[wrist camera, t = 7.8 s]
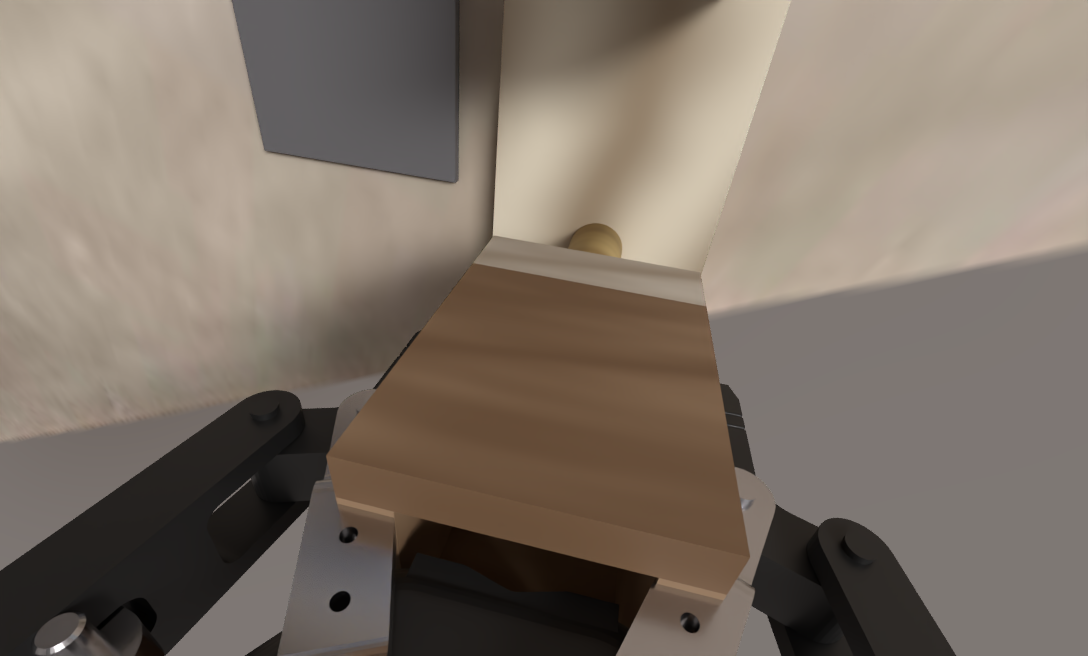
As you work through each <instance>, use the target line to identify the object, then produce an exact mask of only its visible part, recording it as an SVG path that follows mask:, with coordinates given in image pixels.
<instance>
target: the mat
mask: <svg viewBox="0 0 1088 656" xmlns="http://www.w3.org/2000/svg"><path fill="white" fill-rule="evenodd" d="M232 3H233V8H234V12H235V17H236V21H237V26H238V31H239V35H240V40H241V44H242V49H243V53H244V58H245V63H246V67H247V72H248V76H249V81H250V86H251V90H252V95H253V99H254V104H255V109H256V113H257V118H258V122H259V127H260V132H261V136H262V141H263V145H264V150H266V151H272V152H277V153H283V154H289V155H295V156H301V157H307V158H313V159H319V160H325V161H331V162H336V163H342V164H348V165H354V166H360V167H366V168H372V169H378V170H384V171H390V172H395V173H401V174H407V175H413V176H419V177H425V178H431V179H437V180H443V181H449V182H454V183H455V182H457V181H458V143H459V0H232Z"/></svg>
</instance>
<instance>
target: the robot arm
mask: <svg viewBox="0 0 1088 656" xmlns="http://www.w3.org/2000/svg"><path fill="white" fill-rule="evenodd" d="M420 332H421V330H420V331H419V332H417V333H416V334H415V335H414V336H413V338H412V339H411V340H410V341H409V343H408V344H407V347H405V348H404V349H403V351H402V352H401V353H400V356H398V357H397V358H396V360H395V361H394V362H393V364H392V365H391V366H390V367H389V369H388V370H387V371H386V373H385V374H384V375H383V376H382V378H381V379H380V380H379V382H378V383H377V384H376V386H375V387H374V388H373V389H370V390H364V391H361V392H357V393H355V394H353V395H351V396H349V397H348V398H347V399H345V400H344V401H343V402H342V403H341V405H340V407H337V408H317V409H302V408H301V403H300V400H299V399H298V397H297V396H295V395H294V394H292V393H290V392H287V391H279V390H274V391H266V392H261V393H258V394H255V395H252V396H250V397H248V398H246V399H244V400H243V401H241V402H240V403H238V404H237V405H236V406H234V407H233V408H231V409H230V410H228V411H227V412H226V413H225V414H223V415H221V416H220V417H219V418H217V419H216V420H214V421H213V422H211V423H210V424H209V425H207V426H206V427H204V428H203V429H201V430H200V431H199V432H197V433H196V434H194V435H193V436H191V437H190V438H189V439H187V440H186V441H184V442H183V443H181V444H180V445H179V446H177V447H176V448H174V449H173V450H172V451H170V452H169V453H167V454H166V455H164V456H163V457H162V458H160V459H159V460H157V461H156V462H155V463H153V464H152V465H150V466H149V467H147V468H146V469H144V470H143V471H142V472H140V473H139V474H137V475H136V476H135V477H133V478H132V479H130V480H129V481H128V482H126V483H125V484H123V485H122V486H120V487H119V488H117V489H116V490H115V491H113V492H112V493H110V494H109V495H108V496H106V497H105V498H103V499H102V500H100V501H99V502H98V503H96V504H95V505H93V506H92V507H90V508H89V509H88V510H86V511H85V512H83V513H82V514H80V515H79V516H78V517H76V518H75V519H73V520H72V521H71V522H69V523H68V524H66V525H65V526H63V527H62V528H61V529H59V530H58V531H56V532H55V533H54V534H52V535H51V536H49V537H48V538H46V539H45V540H43V541H42V542H41V543H39V544H38V545H36V546H35V547H34V548H32V549H31V550H29V551H28V552H26V553H25V554H24V555H22V556H21V557H19V558H18V559H16V560H15V561H14V562H12V563H11V564H10V565H8V566H6V567H5V568H4V569H3V570H1V571H0V656H165V655H166V654H167V653H168V652H169V651H170V650H171V649H172V648H173V647H174V646H175V645H176V644H177V643H178V642H179V641H180V640H181V639H182V638H183V637H184V635H185V634H186V633H187V632H188V631H189V630H190V629H191V628H192V627H193V626H194V625H195V624H196V623H197V622H198V621H199V620H200V619H201V618H202V617H203V616H204V615H205V614H206V613H207V612H208V611H209V610H210V608H211V607H212V606H213V605H214V604H215V603H216V602H217V601H218V600H219V599H220V598H221V597H222V596H223V595H224V594H225V593H226V592H227V591H228V590H229V589H230V588H231V587H232V586H233V585H234V583H235V582H236V581H237V580H238V579H239V578H240V577H241V576H242V575H243V574H244V573H245V572H246V571H247V570H248V569H249V568H250V567H251V566H252V565H253V564H254V563H255V562H256V561H257V559H259V558H260V556H261V555H262V554H263V553H264V552H265V551H266V550H267V549H268V548H269V547H270V546H271V545H272V544H273V543H274V542H275V541H276V540H277V539H278V538H279V537H280V536H281V535H282V534H283V533H284V532H285V530H287V528H288V527H289V526H290V525H291V524H292V523H293V522H294V521H295V520H296V519H297V518H298V517H299V516H300V515H301V514H302V513H303V512H304V511H305V510H306V509H307V507H309V509H308V513H307V518H306V523H305V527H304V532H303V537H302V542H301V546H300V551H299V555H298V560H297V565H296V569H295V574H294V579H293V584H292V588H291V593H290V598H289V603H288V607H287V612H286V616H285V621H284V626H283V630H282V631H281V632H280V633H279V634H277V635H275V636H274V637H272V638H271V639H269V640H268V641H266V642H265V643H263V644H262V645H260V646H259V647H257V648H256V649H254V650H253V651H251V652H250V653H248V654H247V655H245V656H736V654H737V651H738V647H739V644H740V641H741V638H742V634H743V631H744V628H745V625H746V621H747V618H748V615H749V612H750V608H751V606H753V607H754V608H756V609H758V610H760V611H761V612H763V613H765V614H766V615H767V616H768V619H769V622H770V624H771V628H772V631H773V633H774V636H775V639H776V641H777V644H778V648H779V650H780V653H781V656H956V655H955V653H954V652H953V650H952V648H951V646H950V645H949V643H948V642H947V640H946V638H945V637H944V635H943V634H942V632H941V630H940V629H939V627H938V626H937V624H936V622H935V621H934V619H933V618H932V616H931V614H930V613H929V611H928V610H927V608H926V606H925V605H924V603H923V601H922V600H921V598H920V597H919V595H918V593H917V592H916V591H915V589H914V587H913V585H912V584H911V582H910V581H909V579H908V577H907V576H906V574H905V573H904V571H903V569H902V568H901V566H900V565H899V563H898V561H897V560H896V558H895V557H894V555H893V553H892V552H891V550H890V549H889V548H888V546H887V545H886V544H885V543H884V542H883V541H882V540H881V539H880V538H879V537H878V536H877V535H875V534H874V533H873V532H871V531H870V530H868V529H867V528H865V527H864V526H862V525H860V524H858V523H856V522H853V521H851V520H847V519H842V518H831V519H828V520H825V521H824V522H823V523H822V524H821V525H820V526H819V527H817V526H815V525H813V524H811V523H809V522H807V521H805V520H803V519H801V518H799V517H797V516H795V515H793V514H791V513H789V512H787V511H785V510H784V509H782V508H781V507H779V506H778V505H776V504H775V500H774V497H773V495H772V493H771V491H770V490H769V488H768V487H767V486H766V485H765V484H764V482H762V481H761V480H760V479H759V478H757V477H756V476H755V472H754V467H753V462H752V457H751V453H750V448H749V444H748V439H747V434H746V431H745V430H744V429H745V425H744V421H743V418H742V412H741V407H740V403H739V399H738V398H737V397H736V395H735V394H734V393H733V391H732V390H731V389H730V387H729V386H728V385H725V384H720V388H721V393H722V399H723V405H724V410H725V416H726V422H727V428H728V433H729V439H730V445H731V450H732V456H733V462H734V467H735V473H736V479H737V484H738V490H739V496H740V502H741V507H742V513H743V519H744V524H745V530H746V536H747V541H748V547H749V553H750V559H749V560H748V562H747V564H746V565H745V567H744V568H743V570H742V572H741V573H740V575H739V576H738V578H737V580H736V581H735V583H734V584H733V586H732V588H731V589H730V591H729V592H728V594H727V596H726V597H725V599H724V600H720V599H716V598H712V597H708V596H704V595H700V594H696V593H692V592H688V591H684V590H680V589H676V588H672V587H668V586H664V585H660V584H656V578H655V580H654V582H653V584H652V586H651V588H650V590H649V592H648V594H647V595H646V597H645V599H644V601H643V603H642V605H641V607H640V609H639V611H638V613H637V615H636V617H635V619H634V621H633V623H632V625H631V627H630V629H629V628H628V627H626V626H625V625H623V624H621V623H619V622H618V617H619V604H615V603H611V602H607V601H603V600H599V599H596V598H592V597H588V596H584V595H580V594H576V593H572V592H568V591H557V592H513V591H510V590H508V589H506V588H504V587H502V586H501V585H499V584H497V583H495V582H494V581H492V580H490V579H489V578H487V577H485V576H483V575H482V574H480V573H478V572H476V571H475V570H473V569H471V568H469V567H468V566H466V565H463V564H459V563H455V562H452V561H448V560H444V559H440V558H436V557H432V556H428V555H424V554H420V553H417V554H416V556H415V558H414V560H413V562H412V565H411V567H410V568H402V569H395V568H396V544H397V536H396V528H395V520H394V518H393V517H389V516H385V515H381V514H377V513H373V512H369V511H365V510H361V509H357V508H353V507H349V506H345V505H341V504H337V501H336V497H335V492H334V488H333V484H332V479H331V475H330V471H329V466H328V462H327V458H326V455H327V454H328V452H329V451H330V450H331V448H332V447H333V446H334V444H335V443H336V442H337V440H338V439H339V438H340V437H341V435H342V434H343V433H344V431H345V430H346V429H347V427H348V426H349V425H350V423H351V422H352V421H353V419H354V418H355V417H356V416H357V414H358V413H359V412H360V410H361V409H362V408H363V406H364V405H365V404H366V402H367V401H368V400H369V399H370V397H371V396H372V395H373V393H374V392H375V391H376V389H377V388H378V387H379V385H380V384H381V383H382V381H383V380H384V379H385V378H386V376H387V375H388V374H389V372H390V371H391V370H392V368H393V367H394V366H395V364H396V363H397V362H398V361H399V359H400V358H401V357H402V355H403V354H404V353H405V351H406V350H407V349H408V347H409V346H410V345H411V343H412V342H413V341H414V340H415V338H416V337H417V336H418V334H419V333H420ZM250 478H251V480H250V481H249V482H248V483H247V484H246V485H245V486H244V487H242V488H241V489H240V490H239V491H238V492H237V493H235V494H234V495H233V496H232V497H231V498H230V499H229V500H227V501H226V502H225V503H224V504H223V505H222V506H221V507H219V508H218V509H217V510H216V511H215V512H214V513H213V511H214V510H215V509H216V508H217V507H218V506H219V505H220V504H221V503H222V502H223V501H224V500H226V498H228V497H229V496H230V495H231V494H232V493H234V492H235V491H236V490H237V489H238V488H239V487H241V486H242V485H243V484H244V483H245V482H246V481H247V480H248V479H250Z"/></svg>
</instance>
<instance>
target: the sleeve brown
mask: <svg viewBox="0 0 1088 656" xmlns="http://www.w3.org/2000/svg"><path fill="white" fill-rule="evenodd" d="M326 458H327V462H328V466H329V471H330V475H331V479H332V484H333V488H334V492H335V497H336V501H337V504H341V505H345V506H349V507H353V508H357V509H361V510H365V511H369V512H373V513H377V514H381V515H385V516H389V517H393V518H394V520H395V528H396V536H397V544H396V568H395V569H402V568H410V567H411V565H412V562H413V560H414V558H415V556H416V554H417V553H420V554H424V555H428V556H432V557H436V558H440V559H444V560H448V561H452V562H455V563H459V564H463V565H466V566H468V567H469V568H471V569H473V570H475V571H476V572H478V573H480V574H482V575H483V576H485V577H487V578H489V579H490V580H492V581H494V582H495V583H497V584H499V585H501V586H502V587H504V588H506V589H508V590H510V591H513V592H557V591H568V592H572V593H576V594H580V595H584V596H588V597H592V598H596V599H599V600H603V601H607V602H611V603H615V604H619V617H618V622H619V623H621V624H623V625H625V626H626V627H628V628H629V629H630V627H631V625H632V623H633V621H634V619H635V617H636V615H637V613H638V611H639V609H640V607H641V605H642V603H643V601H644V599H645V597H646V595H647V594H648V592H649V590H650V588H651V586H652V584H653V582H654V580H655V578H656V584H660V585H664V586H668V587H672V588H676V589H680V590H684V591H688V592H692V593H696V594H700V595H704V596H708V597H712V598H716V599H720V600H724V599H725V597H726V596H727V594H728V592H729V591H730V589H731V588H732V586H733V584H734V583H735V581H736V580H737V578H738V576H739V575H740V573H741V572H742V570H743V568H744V567H745V565H746V564H747V562H748V560H749V559H750V553H749V547H748V541H747V536H746V530H745V524H744V519H743V513H742V507H741V502H740V496H739V490H738V484H737V479H736V473H735V467H734V462H733V456H732V450H731V445H730V439H729V433H728V428H727V422H726V416H725V410H724V405H723V399H722V393H721V388H720V383H719V377H718V371H717V365H716V360H715V354H714V348H713V342H712V337H711V331H710V325H709V319H708V314H707V308H706V302H705V297H704V291H703V285H702V279H701V274H700V272H696V271H690V270H684V269H679V268H673V267H668V266H662V265H656V264H651V263H645V262H640V261H634V260H629V259H623V258H617V257H612V256H606V255H601V254H595V253H589V252H584V251H578V250H573V249H567V248H561V247H556V246H550V245H545V244H539V243H534V242H528V241H522V240H517V239H511V238H506V237H500V236H493V237H492V239H491V240H490V241H489V243H488V244H487V245H486V247H485V248H484V249H483V250H482V252H481V253H480V254H479V256H478V257H477V258H476V260H475V261H474V262H473V264H472V265H471V266H470V268H469V269H468V270H467V271H466V273H465V274H464V275H463V277H462V278H461V279H460V281H459V282H458V283H457V285H456V286H455V287H454V288H453V290H452V291H451V292H450V294H449V295H448V296H447V298H446V299H445V300H444V302H443V303H442V304H441V306H440V307H439V308H438V309H437V311H436V312H435V313H434V315H433V316H432V317H431V319H430V320H429V321H428V323H427V324H426V325H425V326H424V328H423V329H422V330H421V332H420V333H419V334H418V336H417V337H416V338H415V340H414V341H413V342H412V343H411V345H410V346H409V347H408V349H407V350H406V351H405V353H404V354H403V355H402V357H401V358H400V359H399V361H398V362H397V363H396V364H395V366H394V367H393V368H392V370H391V371H390V372H389V374H388V375H387V376H386V378H385V379H384V380H383V381H382V383H381V384H380V385H379V387H378V388H377V389H376V391H375V392H374V393H373V395H372V396H371V397H370V399H369V400H368V401H367V402H366V404H365V405H364V406H363V408H362V409H361V410H360V412H359V413H358V414H357V416H356V417H355V418H354V419H353V421H352V422H351V423H350V425H349V426H348V427H347V429H346V430H345V431H344V433H343V434H342V435H341V437H340V438H339V439H338V440H337V442H336V443H335V444H334V446H333V447H332V448H331V450H330V451H329V452H328V454H327V455H326Z"/></svg>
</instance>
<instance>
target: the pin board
mask: <svg viewBox="0 0 1088 656" xmlns="http://www.w3.org/2000/svg"><path fill="white" fill-rule="evenodd" d="M790 2H791V0H504V13H503V34H502V55H501V75H500V96H499V117H498V138H497V159H496V179H495V200H494V221H493V236H500V237H506V238H511V239H517V240H522V241H528V242H534V243H539V244H545V245H550V246H556V247H561V248H567V249H573V250H578V251H584V252H589V253H595V254H601V255H606V256H612V257H617V258H623V259H629V260H634V261H640V262H645V263H651V264H656V265H662V266H668V267H673V268H679V269H684V270H690V271H696V272H700V274H701V273H702V270H703V267H704V264H705V261H706V258H707V255H708V252H709V249H710V246H711V243H712V240H713V237H714V234H715V231H716V228H717V225H718V222H719V219H720V216H721V212H722V209H723V206H724V203H725V200H726V197H727V194H728V191H729V188H730V185H731V182H732V179H733V176H734V173H735V170H736V167H737V164H738V161H739V158H740V155H741V152H742V149H743V146H744V142H745V139H746V136H747V133H748V130H749V127H750V124H751V121H752V118H753V115H754V112H755V109H756V106H757V103H758V100H759V97H760V94H761V91H762V88H763V85H764V82H765V79H766V75H767V72H768V69H769V66H770V63H771V60H772V57H773V54H774V51H775V48H776V45H777V42H778V39H779V36H780V33H781V30H782V27H783V24H784V21H785V18H786V15H787V12H788V8H789V5H790Z"/></svg>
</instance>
